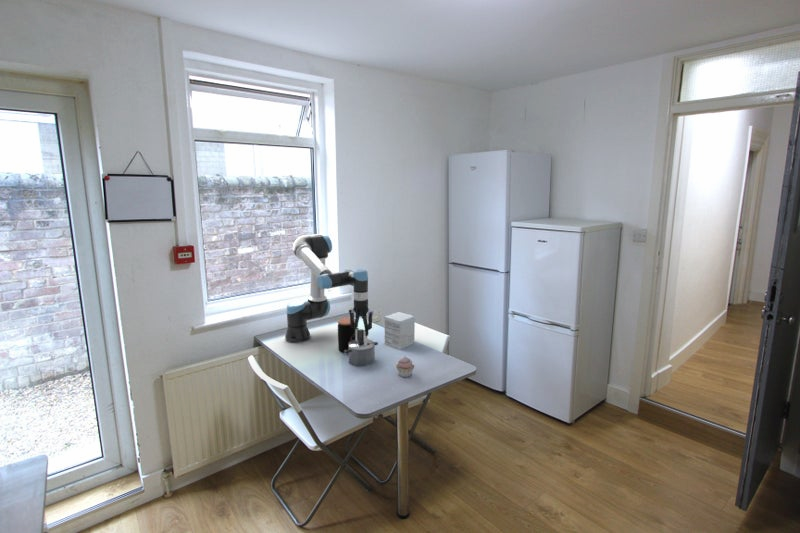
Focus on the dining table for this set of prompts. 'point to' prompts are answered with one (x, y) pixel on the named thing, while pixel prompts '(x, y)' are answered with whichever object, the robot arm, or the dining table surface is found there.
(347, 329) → the coffee jar
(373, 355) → the pot
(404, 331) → the supplement box
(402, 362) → the cupcake
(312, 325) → the dining table surface
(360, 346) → the lid
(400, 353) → the dining table surface
